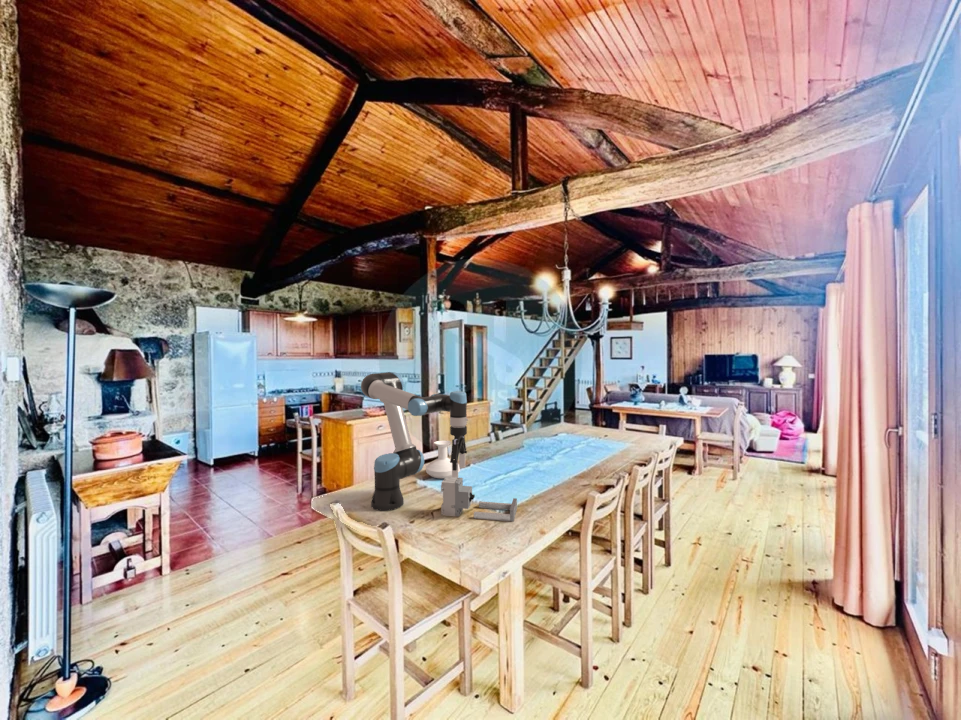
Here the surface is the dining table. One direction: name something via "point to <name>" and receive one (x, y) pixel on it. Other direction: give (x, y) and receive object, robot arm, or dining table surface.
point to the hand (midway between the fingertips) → (458, 472)
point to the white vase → (441, 462)
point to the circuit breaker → (455, 496)
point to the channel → (497, 516)
